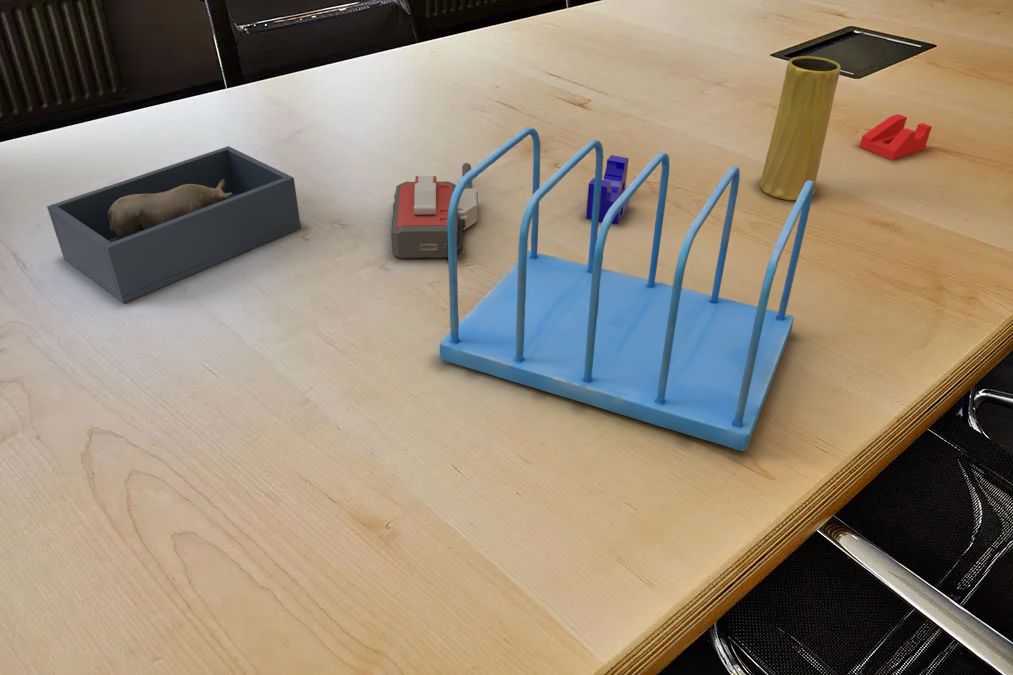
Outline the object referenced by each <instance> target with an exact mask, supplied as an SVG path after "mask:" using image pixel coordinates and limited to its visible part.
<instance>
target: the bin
mask: <svg viewBox="0 0 1013 675" xmlns="http://www.w3.org/2000/svg"><path fill="white" fill-rule="evenodd" d="M222 179H223V180H224V182H225V187H224V189H223V192H224V193H225V194H226V193H230V192H232V196H231V197H230V198H229V199H226V200H223V201H221V202H218V203H215V204H213V205H210V206H207V207H205V208H202V209H199V210H197V211H194V212H191V213H189V214H186V215H183V216H181V217H178V218H175V219H173V220H170V221H167V222H165V223H162V224H159V225H157V226H154V227H151V228H149V229H146V230H143V231H139V232H138V233H135V234H133V235H130V236H127V237H125V238H122V239H119V240H117V241H114V240H115V239H116V236H115V235H114V234H113V233H112V232H111V230H110V221H109V217H108V211H109V209H110V207H111V206H112V204H113V203H114V202H115V201H116V200H118V199H119V198H121V197H124V196H128V195H133V194H156V193H161V192H166V191H169V190H171V189H174V188H176V187H179V186H181V185H185V184H196V185H202V186H206V187H209V188H214V189H216V188H217V186H218V184H219V183H220V181H221V180H222ZM46 208H47V211H48V212H47V213H48V214H49V217H50V220H51V223H52V227H53V229H54V233H55V236H56V239H57V242H58V245H59V248H60V251H61V253H62V258H63V260H64V261H66V262H67V263H68V264H70V265H71V266H73V267H74V268H75V269H77V270H78V271H79V272H80V273H82V274H83V275H84V276H85V277H87V278H89V279H90V280H91V281H92V282H94V283H96V284H97V285H98V286H99V287H101V288H102V289H104V290H105V291H106V292H108V293H109V294H110V295H111V296H113V297H114V298H116V299H117V300H118V301H120V302H121V303H123V304H127V303H129V302H132V301H133V300H135V299H138V298H141V297H143V296H145V295H148V294H149V293H152V292H155V291H157V290H159V289H162V288H164V287H166V286H169V285H171V284H173V283H176V282H178V281H181V280H183V279H185V278H188V277H190V276H192V275H195V274H197V273H199V272H203V271H204V270H206V269H209V268H211V267H213V266H216V265H218V264H220V263H223V262H225V261H228V260H231V259H232V258H234V257H237V256H240V255H241V254H244V253H246V252H249V251H251V250H254V249H256V248H259V247H261V246H263V245H265V244H267V243H270V242H272V241H275V240H277V239H279V238H282V237H285V236H287V235H288V234H291V233H293V232H296V231H298V230H300V229H301V228H302V225H301V218H300V211H299V210H300V209H299V203H298V198H297V190H296V183H295V177H294V176H292V175H290V174H287V173H286V172H283V171H282V170H279V169H278V168H275V167H273V166H271V165H269V164H267V163H264V162H263V161H260V160H259V159H256V158H254V157H252V156H251V155H248V154H246V153H244V152H241V151H239V150H238V149H236V148H234V147H232V146H229V145H227V146H224V147H222V148H219V149H215V150H212V151H209V152H207V153H203V154H199V155H197V156H194V157H191V158H188V159H186V160H182V161H179V162H176V163H173V164H170V165H167V166H163V167H160V168H157V169H155V170H152V171H149V172H146V173H142V174H140V175H137V176H134V177H131V178H128V179H124V180H122V181H119V182H116V183H112V184H110V185H108V186H104V187H101V188H98V189H95V190H92V191H91V190H90V191H89V192H85V193H82V194H80V195H76V196H73V197H70V198H68V199H64V200H60V201H59V202H55V203H52V204H49V205H47V206H46ZM113 241H114V242H113Z"/></svg>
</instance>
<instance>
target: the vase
mask: <svg viewBox="0 0 1013 675" xmlns="http://www.w3.org/2000/svg"><path fill="white" fill-rule="evenodd" d="M840 73H841V65H840V63H838V62H837V61H835V60H832V59H829V58H825V57H821V56H820V57H819V56H812V55H810V56H809V55H802V56H795V57H791V58H790V59H789V60H788V62H787V65H786V70H785V76H784V80H783V85H782V89H781V95H780V98H779V104H778V108H777V113H776V116H775V121H774V126H773V129H772V134H771V137H770V142H769V146H768V149H767V154H766V158H765V162H764V167H763V170H762V175H761V178H760V179H759V180H760V181H759V188H760V189H761V190H762V192H764V193H765V194H766V195H768V196H770V197H772V198H776V199H779V200H785V201H792V202H793V201H795V202H796V200H797V198H798V196H799V194H800V192H801V190H802V188H803V186H804V184H805V182H806V181H808V180H809V181H813V182H814V191H813V196H814V195H815V193H816V183H817V177H818V173H819V170H820V166H821V159H822V156H823V154H822V153H823V148H824V145H825V141H826V136H827V132H828V127H829V123H830V117H831V113H832V108H833V103H834V100H835V93H836V91H837V90H836V89H837V86H838V83H839V77H840V75H841V74H840Z"/></svg>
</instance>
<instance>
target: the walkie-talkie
mask: <svg viewBox="0 0 1013 675" xmlns="http://www.w3.org/2000/svg"><path fill="white" fill-rule="evenodd" d="M461 168H462V169H461V174H462V175H461V176H462V177H463V176H464V175H465V174H466V173H467V172H469V171H470V170H471V169H472V165H471V164H470V163H469V162H464V163H463V164H462V166H461ZM462 177H461V178H462ZM456 185H457V184H456V183H453V182H451V181H446V180H445V181H444V180H443V181H440V180H439V181H437V175H415V181H404V182H402V183H400V184H397V185H396V186H395V192H394V196H393V198H394V202H393V204H392V205H393V206H392V207H393V208H392V209H393V211H392V212H393V213H392V222H391V223H392V224H391V231H390V237H391V238H390V240H391V253H392V255H394V256H395V257H396V258H399V259H448V210H449V204H450V200H451V197H452V194H453V192H454V189H455V187H456ZM478 207H479V189H478V188H473V180H471V181H470V182H469V184H468V185H467V186H466V187H465V189H464V191H463V193H462V195H461V197H460V201H459V205H458V209H457V218H456V237H457V256H459V255H460V254H461V253H462V251H463V231H465V230H466V229H468V228H470V227H471V226H472V225H474V224H476V222H478Z"/></svg>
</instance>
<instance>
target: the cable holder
mask: <svg viewBox="0 0 1013 675" xmlns="http://www.w3.org/2000/svg"><path fill="white" fill-rule="evenodd" d="M628 167H629V157H625V156H619V155H614V154H610V155H609V156H608V158H607V159H606V164H605V172H604V175H603V178H602V183H601V196H600V208H599V220H598V222H601V223H602V222H603V220H604V217H605V215H606V214H607V212H608V210H609V209H610V207H611V206H612V205H613V204H614V203H615V201H616V200H617V199H618V198H619V197H620V196H621V194H622V193H623V192H624V191H625V190H626V188H627V187H626V186H627V176H628ZM594 183H595V177H592V179H591V180H590V181H589V183H588V186H587V188H588V189H587V199H586V200H587V201H586V211H585V212H586V213H585V219H587V220H592V208H593V195H594ZM629 206H630V199H629V200H628V201H627V203H626V204H625V205H624V206H623V207H622V208H621V210H620V211H619V212H618V213H617V215H616V216H615V217H614V219H613V221H612V223H611V225H612V224H613V225H617V226H618V225H619V224H620V222H621V221H622V219H623V218H624V216H625V215H626V213H627V211H628V210H629Z"/></svg>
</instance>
